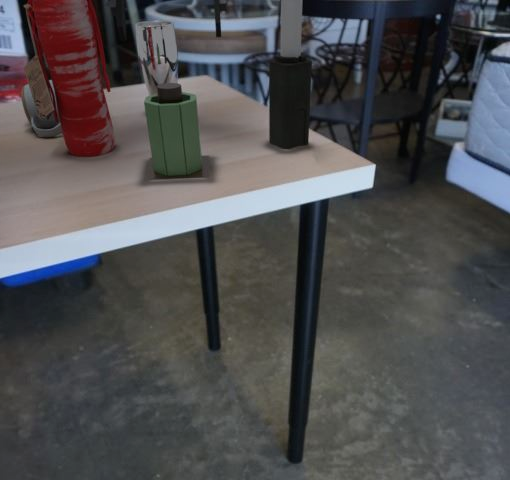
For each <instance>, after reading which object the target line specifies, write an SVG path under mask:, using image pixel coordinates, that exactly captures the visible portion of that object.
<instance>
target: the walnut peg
mask: <svg viewBox="0 0 510 480" xmlns="http://www.w3.org/2000/svg"><path fill="white" fill-rule="evenodd" d="M157 92H158V100H159V104H172V103H180V102H183V98H182V92H183V88H182V84H181V83H164V84H160V85H158V86H157ZM201 157H202V169H201V170H199V171H196V172H194V173H191V174H189V175H187V174H186V175H179V176H168V175H167V176H166V175H163V174H160V173H157V172H155V171H154V168H153V161H152V157H150V158H149V161H148V163H147V164H148V165H147V168H146V172H145V176H144V181H162V180H165V181H166V180H186V179H208V178H210V161H211V160H210V158H211V157H210V155H201Z"/></svg>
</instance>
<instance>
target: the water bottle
mask: <svg viewBox="0 0 510 480" xmlns="http://www.w3.org/2000/svg"><path fill="white" fill-rule="evenodd" d="M23 8H25V14H26V20H27V24H28V29H29V33H30V38H31V42H32V46H33V50H34V54H35V55H34V56H33V57H32V58H31V59H30V60H29V61H28V62H27V63H26V64H25V65H24V66H23V72H24V75H25V78H26V81H27V84H29V87H30V91H31V94H32V97H33V100H34V103H35V106H36V109H37V113H38V116H39V119H40V121H41V120H42V119H43V118H45V117H47V120H49V118H50V116H51V114H52V113H53V114H54V118H55V121H56V122H58V117H57V111H56V102H57V108H58V113H59V119H60V124H61V129H62V133H61V134H62V136H63V141H64V144H65V146H66V148H67V150H68V151H69V153H70V154H71V155H72V156H76V157H82V158H83V157H85V158H90V157H91V158H92V157H98V156H102V155H105V154H108V153H110V152H112V151H113V150H114V148H115V144H116V140H115V133H114V127H113V122H112V118H111V114H110V110H109V106H108V102H107V99H106V95H105V90H104V87H103V80H102V77H103V78H104V83H105V88H106V92H107V93H111V92H112V91H111V85H110V83H111V82H110V79H109V76H108V73H107V71H106V68H107V64H106V57H105V52H104V46H103V45H104V44H103V39H102V34H101V31H100V27H99V22H98V18H97V14H96V10H95V7H94V4H93V2H92V0H27V3H25V4H23ZM36 30H37V31H36ZM43 56H44V58H45V61H46V64H47V67H48V71H49V74H50V79H49V77H48V75H47V71H46V68H45V64H44V61H43ZM99 58H100V60H99ZM100 63H101V68H102V72H101V70H100ZM49 80H52V83H53V87H54V91H55V95H54V92H53V90H52V87H51V84H50V82H49ZM50 91H51V92H50ZM51 94H52V96H51ZM52 97H53V100H52ZM55 97H56V102H55Z"/></svg>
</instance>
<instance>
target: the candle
mask: <svg viewBox="0 0 510 480" xmlns="http://www.w3.org/2000/svg"><path fill="white" fill-rule="evenodd" d="M302 22H303V0H280V51H279V52H278V53H275V54H274V58H270V59H269V60H268V80H269V81H268V96H269V97H268V102H269V103H268V109H269V110H268V120H269V121H268V129H269V131H268V134H269V135H268V138H269V140H268V141H269V142H268V143H269V144H271V145H273V146H274V147H277V148H280V149H282V150H291V149H294V148H297V147H302V146H306V145H309V138H310V137H309V136H310V118H311V117H310V114H311V95H312V94H311V93H312V71H313V67H312V66H313V60H312V59H309V58H308V57H307V53H306V52H305V53H304V52H302V26H303V24H302Z"/></svg>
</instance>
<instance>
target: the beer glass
mask: <svg viewBox="0 0 510 480" xmlns="http://www.w3.org/2000/svg"><path fill="white" fill-rule="evenodd" d="M174 24H175V23H174V22H173V21H172V20H159V19H158V20H145V21H139V22H136V23H135V24H134V26H135V38H136V48H137V49H136V50H137V56H138V62H139V66H140V71H141V73H142V77H143V80H144V84H145V87H146V89H147V94H148V95H147V96H151V95H154V94H158V92H157V86H158V85H160V84H164V83H178V82H179V81H178V80H179V51H178V44H177V43H178V42H177V36H176V31H175V26H174ZM178 84H179V83H178Z"/></svg>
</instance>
